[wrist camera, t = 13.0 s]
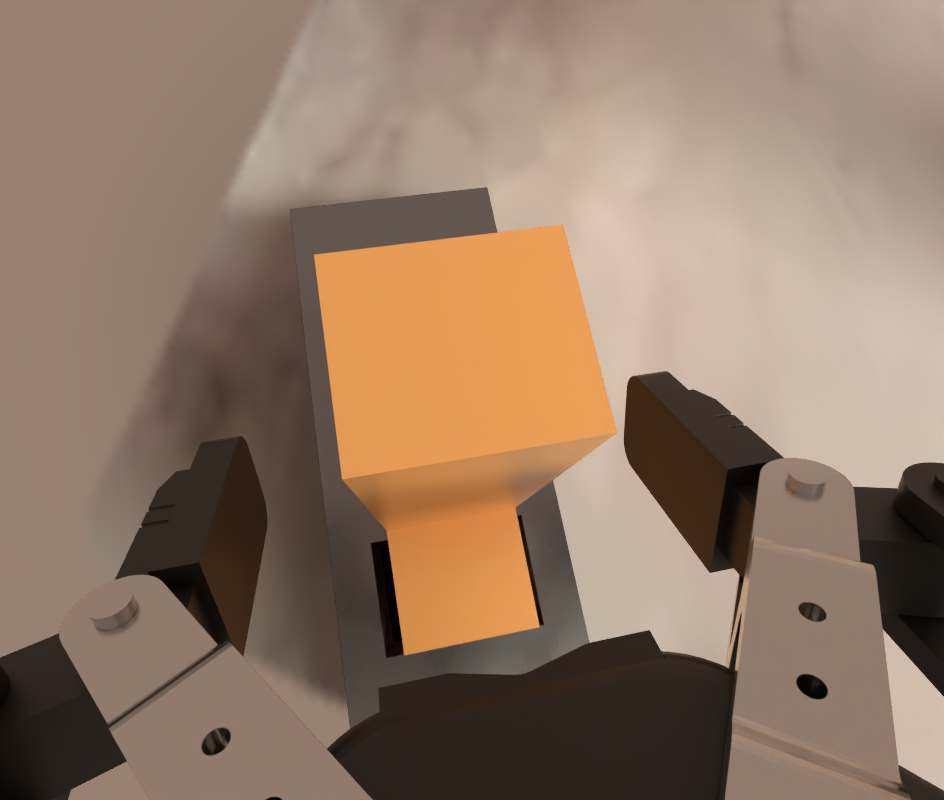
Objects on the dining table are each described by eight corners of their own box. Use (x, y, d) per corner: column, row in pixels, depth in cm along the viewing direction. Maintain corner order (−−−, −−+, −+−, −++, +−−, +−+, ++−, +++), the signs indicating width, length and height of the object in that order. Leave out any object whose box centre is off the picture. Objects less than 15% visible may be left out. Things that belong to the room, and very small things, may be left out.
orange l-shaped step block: (374, 388, 23) (291, 72, 8) (460, 375, 23) (518, 54, 9) (410, 630, 20) (377, 763, 6) (505, 611, 21) (684, 692, 6)
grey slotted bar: (311, 267, 24) (289, 209, 20) (477, 246, 25) (487, 187, 21) (379, 820, 19) (368, 882, 15) (588, 769, 20) (628, 815, 16)
